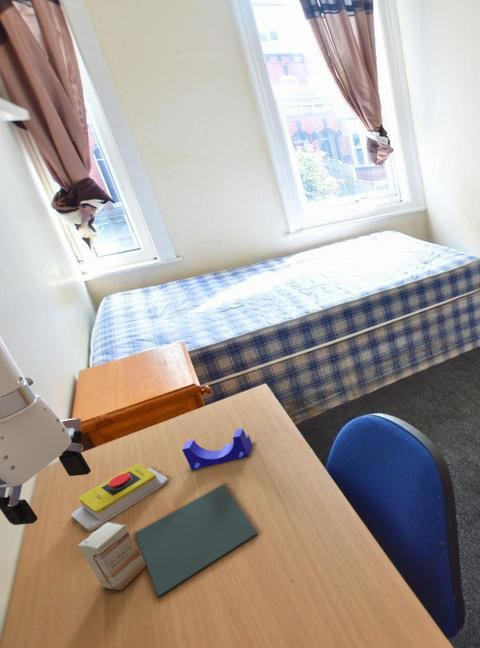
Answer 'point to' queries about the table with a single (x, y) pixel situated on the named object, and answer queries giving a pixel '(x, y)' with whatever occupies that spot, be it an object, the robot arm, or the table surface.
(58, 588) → the table surface
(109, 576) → the printed medicine box
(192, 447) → the cable clip
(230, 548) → the mat
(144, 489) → the emergency button
